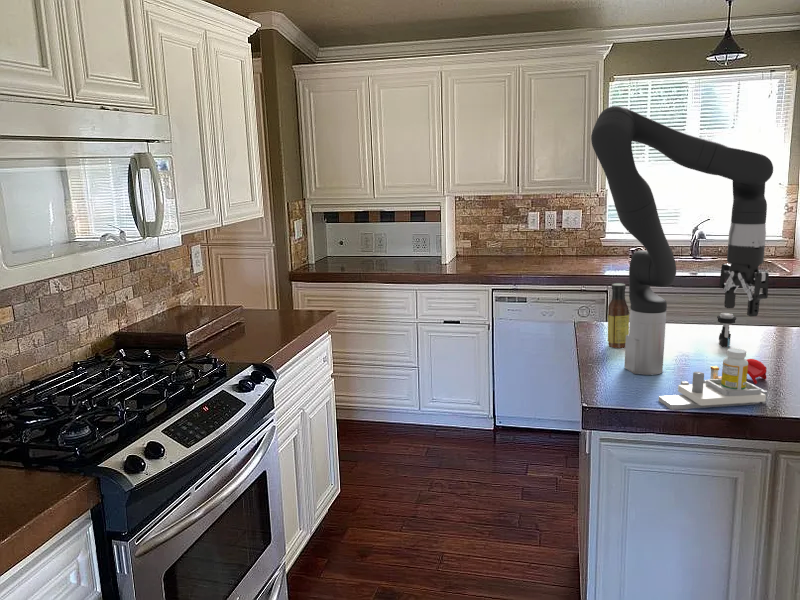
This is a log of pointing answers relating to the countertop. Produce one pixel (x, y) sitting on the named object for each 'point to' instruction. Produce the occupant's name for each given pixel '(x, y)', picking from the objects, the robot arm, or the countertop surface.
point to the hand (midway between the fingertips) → (740, 311)
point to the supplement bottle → (734, 370)
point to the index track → (686, 403)
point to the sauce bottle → (618, 317)
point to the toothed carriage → (718, 392)
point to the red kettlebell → (756, 370)
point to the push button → (725, 328)
